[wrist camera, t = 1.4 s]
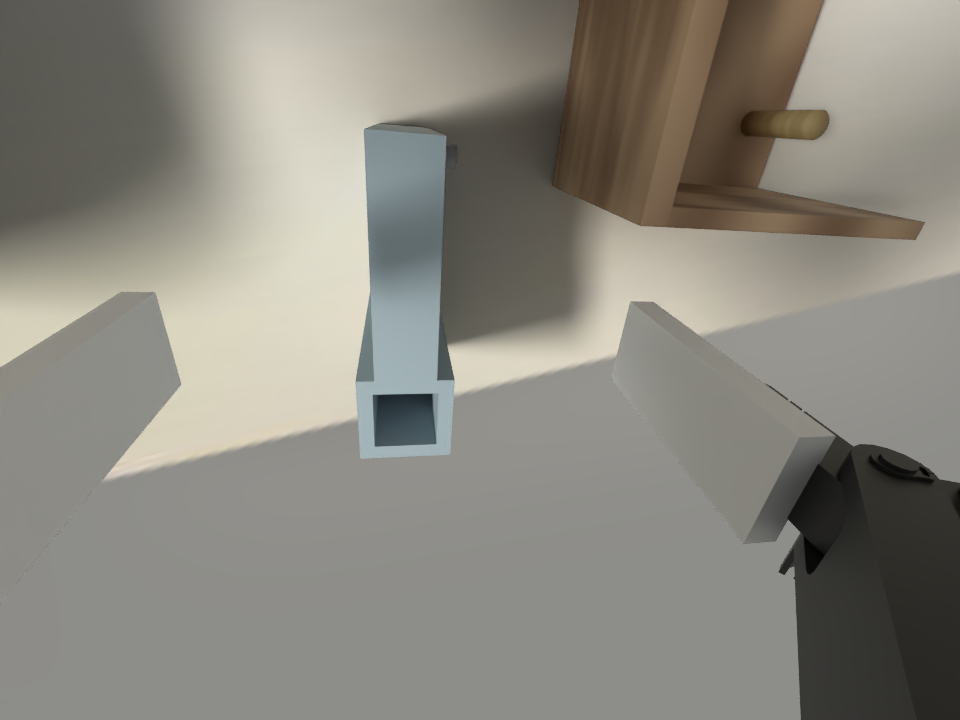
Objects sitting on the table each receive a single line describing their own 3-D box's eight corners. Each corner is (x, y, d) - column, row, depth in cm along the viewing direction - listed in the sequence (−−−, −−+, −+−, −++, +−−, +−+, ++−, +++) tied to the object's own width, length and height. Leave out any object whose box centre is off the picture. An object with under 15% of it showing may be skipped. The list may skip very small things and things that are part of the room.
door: (372, 347, 32) (360, 458, 22) (363, 122, 25) (339, 126, 15) (436, 347, 33) (454, 454, 22) (444, 129, 26) (474, 138, 16)
